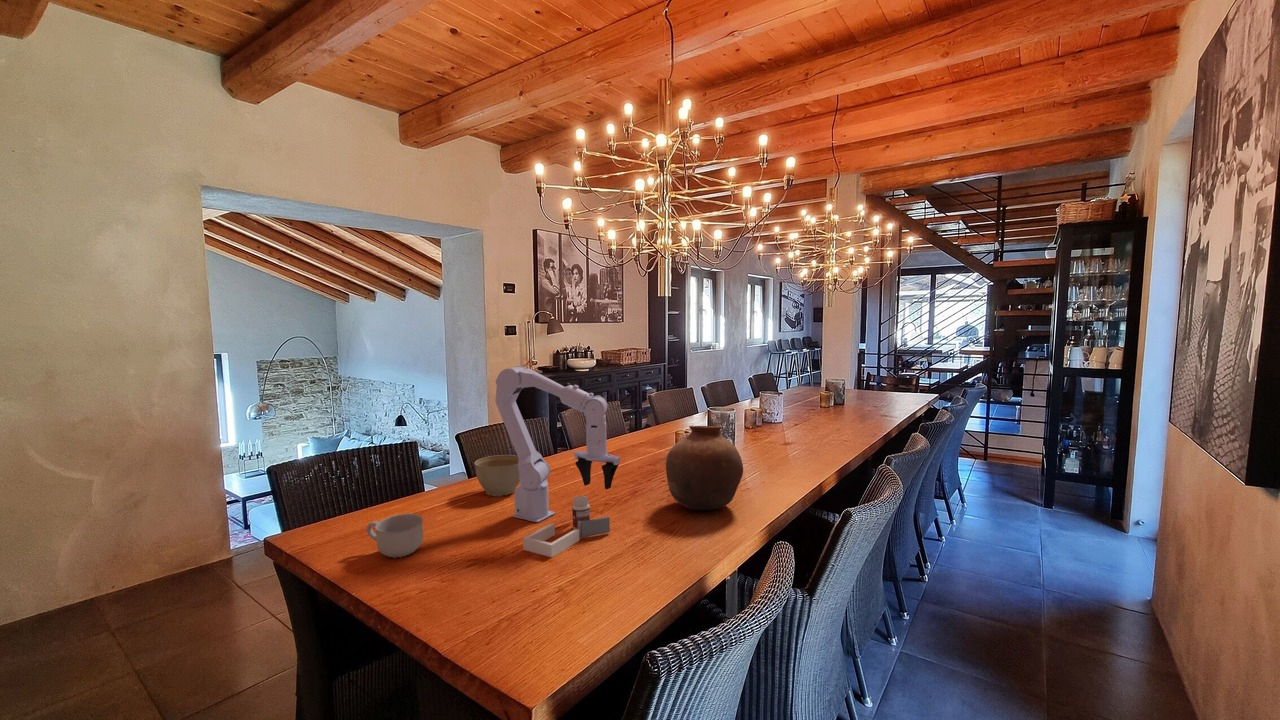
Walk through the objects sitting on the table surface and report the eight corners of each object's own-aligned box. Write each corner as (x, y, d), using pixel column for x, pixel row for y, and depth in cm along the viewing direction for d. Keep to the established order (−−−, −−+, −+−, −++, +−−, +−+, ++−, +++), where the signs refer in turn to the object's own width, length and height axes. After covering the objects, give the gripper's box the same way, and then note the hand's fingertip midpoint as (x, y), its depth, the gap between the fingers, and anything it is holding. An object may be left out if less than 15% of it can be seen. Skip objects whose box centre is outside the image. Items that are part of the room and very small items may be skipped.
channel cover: (578, 539, 136) (578, 522, 136) (577, 537, 137) (577, 521, 137) (609, 532, 140) (609, 516, 140) (608, 531, 141) (608, 515, 140)
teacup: (433, 546, 134) (432, 515, 133) (401, 565, 124) (399, 532, 123) (390, 540, 138) (388, 510, 138) (355, 557, 128) (354, 525, 128)
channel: (523, 549, 131) (523, 538, 131) (552, 534, 140) (551, 523, 140) (551, 557, 126) (551, 545, 126) (579, 540, 136) (579, 529, 136)
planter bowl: (519, 500, 168) (518, 466, 167) (468, 501, 168) (467, 467, 167) (530, 484, 184) (529, 454, 183) (484, 485, 184) (483, 454, 183)
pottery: (689, 526, 144) (688, 436, 143) (653, 500, 165) (652, 422, 164) (758, 513, 153) (758, 428, 152) (716, 490, 175) (715, 415, 173)
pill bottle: (573, 525, 146) (572, 495, 146) (590, 524, 147) (589, 495, 146) (572, 532, 142) (571, 501, 141) (590, 531, 142) (589, 500, 141)
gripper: (567, 439, 150) (568, 486, 151) (610, 445, 142) (611, 494, 143) (582, 434, 156) (583, 479, 157) (623, 439, 148) (624, 487, 149)
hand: (597, 486), depth 150 cm, fingers open, 7 cm apart
